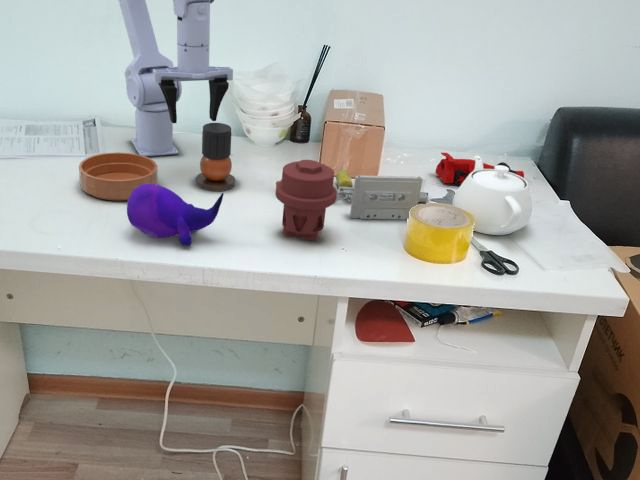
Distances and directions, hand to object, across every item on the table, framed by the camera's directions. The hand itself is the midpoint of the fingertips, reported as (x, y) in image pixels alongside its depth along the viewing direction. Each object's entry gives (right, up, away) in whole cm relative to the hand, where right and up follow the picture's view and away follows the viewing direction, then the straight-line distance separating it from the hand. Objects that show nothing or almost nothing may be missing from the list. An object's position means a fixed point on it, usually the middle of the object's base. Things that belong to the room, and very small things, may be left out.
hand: (193, 120), depth 135 cm
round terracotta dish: (-14, -13, -2) cm, 19 cm away
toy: (-1, -24, -17) cm, 30 cm away
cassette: (+35, -19, -6) cm, 40 cm away
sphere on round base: (+4, -11, +3) cm, 12 cm away
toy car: (+58, -8, +13) cm, 60 cm away
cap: (+4, -6, -1) cm, 8 cm away
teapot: (+53, -20, -4) cm, 57 cm away
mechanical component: (+20, -24, -13) cm, 33 cm away
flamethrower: (+30, -13, +3) cm, 33 cm away
